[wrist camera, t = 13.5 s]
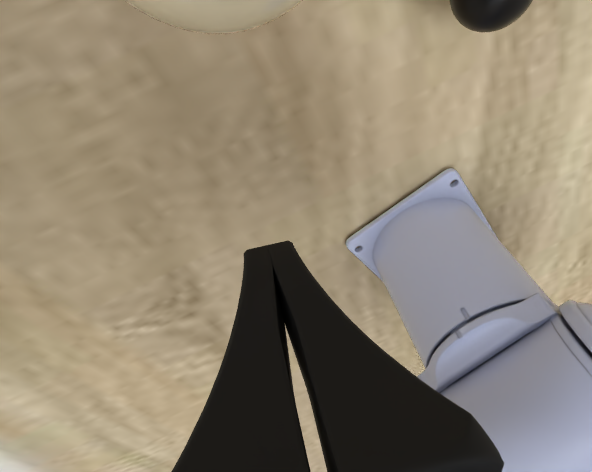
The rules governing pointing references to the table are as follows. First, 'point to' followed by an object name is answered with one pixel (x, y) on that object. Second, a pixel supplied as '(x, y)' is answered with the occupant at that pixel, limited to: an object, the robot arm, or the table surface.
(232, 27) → the globe lamp
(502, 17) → the switch lever
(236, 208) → the table surface
